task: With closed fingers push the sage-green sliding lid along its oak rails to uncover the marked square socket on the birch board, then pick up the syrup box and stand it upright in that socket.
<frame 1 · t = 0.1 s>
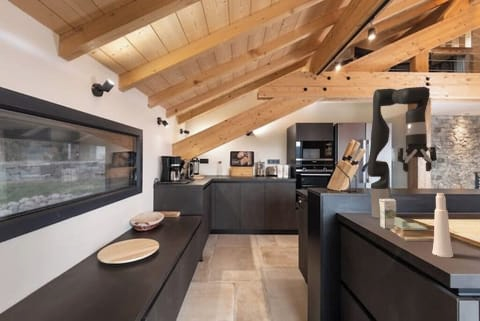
hand: (417, 171, 112), 29 cm above the counter, fingers open, 8 cm apart
syrup box: (388, 228, 132), on the counter
layout board: (418, 235, 117), on the counter
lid: (409, 223, 118), point 6 cm above the counter, slide at 0.0 cm
cosmetic bottle: (442, 255, 94), on the counter
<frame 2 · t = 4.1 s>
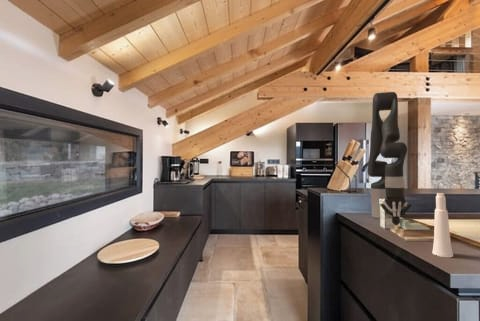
hand: (395, 224, 119), 5 cm above the counter, fingers closed
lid: (412, 223, 117), point 6 cm above the counter, slide at 1.0 cm, touching gripper
everything else where it was.
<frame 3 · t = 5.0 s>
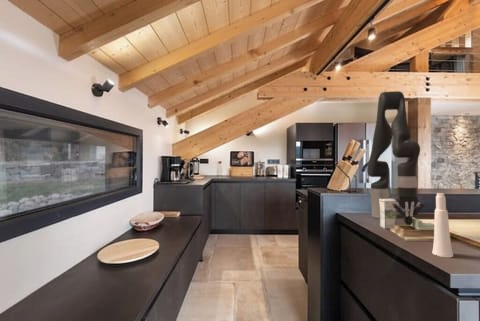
hand: (408, 224, 118), 5 cm above the counter, fingers closed
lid: (425, 223, 117), point 6 cm above the counter, slide at 6.2 cm, touching gripper
everything else where it was.
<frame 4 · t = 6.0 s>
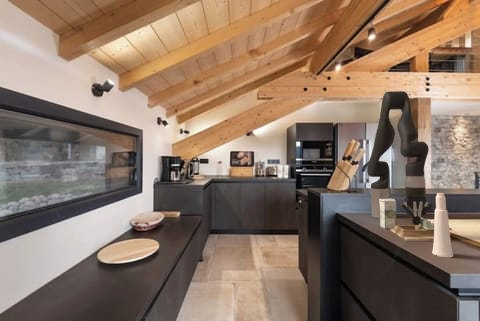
hand: (416, 224, 117), 5 cm above the counter, fingers closed
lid: (433, 223, 116), point 6 cm above the counter, slide at 9.5 cm, touching gripper
everything else where it was.
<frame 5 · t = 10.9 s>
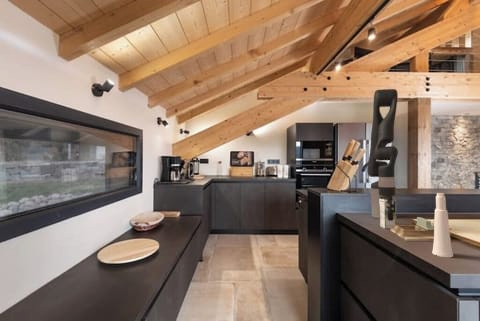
hand: (388, 218, 132), 4 cm above the counter, fingers closed on syrup box, 6 cm apart
syrup box: (388, 228, 132), on the counter, touching gripper
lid: (433, 223, 116), point 6 cm above the counter, slide at 9.5 cm
everything else where it was.
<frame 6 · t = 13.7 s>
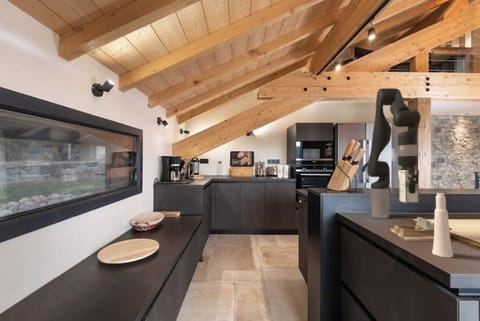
hand: (408, 192, 118), 20 cm above the counter, fingers closed on syrup box, 6 cm apart
syrup box: (409, 202, 118), point 15 cm above the counter, touching gripper
everything else where it was.
when the fingers open (7 cm above the counter, at t = 16.4 s): syrup box drops 1 cm, resting on layout board.
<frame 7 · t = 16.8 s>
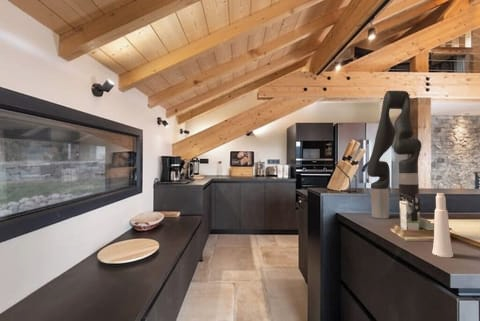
hand: (409, 218, 118), 7 cm above the counter, fingers open, 8 cm apart
syrup box: (410, 233, 117), point 1 cm above the counter, touching layout board
everything else where it was.
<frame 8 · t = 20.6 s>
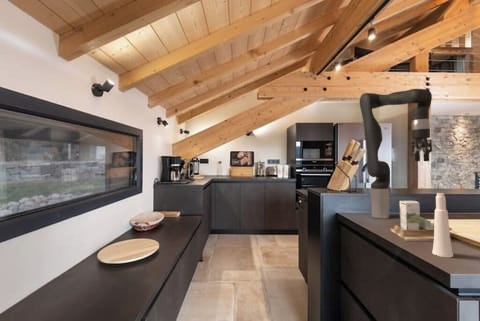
hand: (421, 161, 130), 33 cm above the counter, fingers open, 8 cm apart
nothing on the counter moved.
at the end: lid slide at 9.5 cm; syrup box 0.2 cm from the target spot, point 0.9 cm above the counter; syrup box tilted 0° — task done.
